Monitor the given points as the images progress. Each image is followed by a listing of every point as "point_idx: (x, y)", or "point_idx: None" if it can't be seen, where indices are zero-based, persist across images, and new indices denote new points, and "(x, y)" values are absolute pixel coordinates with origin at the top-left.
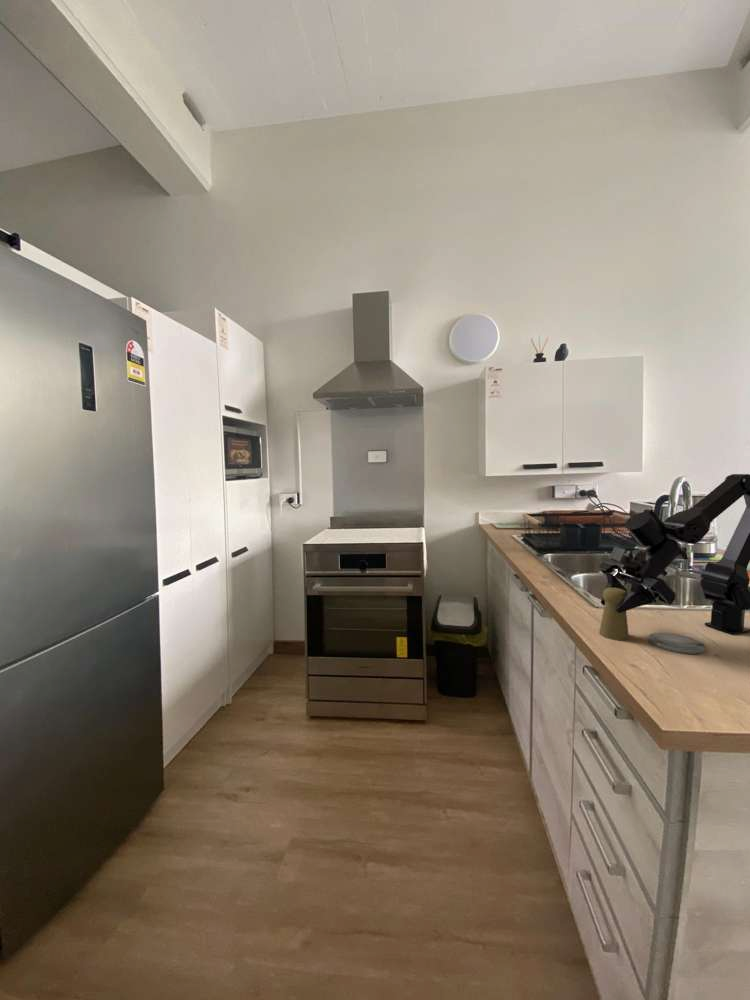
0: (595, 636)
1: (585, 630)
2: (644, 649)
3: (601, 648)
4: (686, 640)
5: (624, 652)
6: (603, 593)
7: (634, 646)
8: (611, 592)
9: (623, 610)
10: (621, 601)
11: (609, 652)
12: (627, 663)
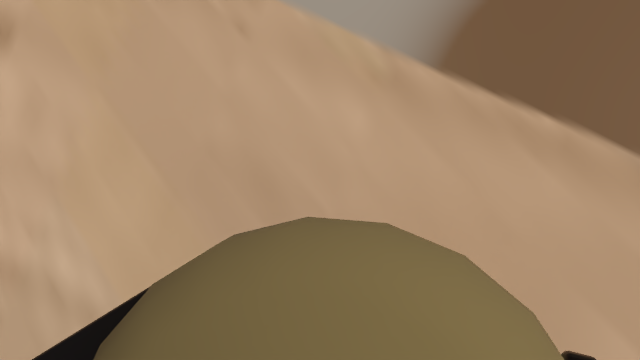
0: (422, 181)
1: (568, 210)
2: None
3: (233, 42)
4: None
5: (127, 140)
6: (479, 272)
7: None
8: (230, 261)
9: None
10: None
11: (167, 43)
12: (23, 23)
